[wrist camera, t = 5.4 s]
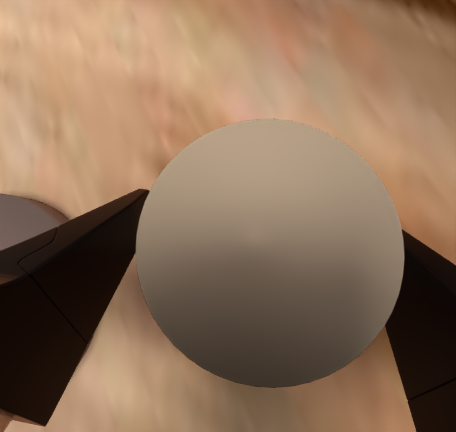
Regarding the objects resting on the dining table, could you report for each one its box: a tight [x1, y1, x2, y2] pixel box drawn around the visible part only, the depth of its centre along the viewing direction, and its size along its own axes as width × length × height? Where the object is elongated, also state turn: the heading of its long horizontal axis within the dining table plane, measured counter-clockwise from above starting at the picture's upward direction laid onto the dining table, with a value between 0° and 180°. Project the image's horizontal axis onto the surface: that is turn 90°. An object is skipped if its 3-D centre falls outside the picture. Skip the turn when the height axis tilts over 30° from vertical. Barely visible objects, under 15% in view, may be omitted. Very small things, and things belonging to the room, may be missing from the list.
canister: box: [136, 119, 404, 388], centre depth 10 cm, size 5×5×12 cm
